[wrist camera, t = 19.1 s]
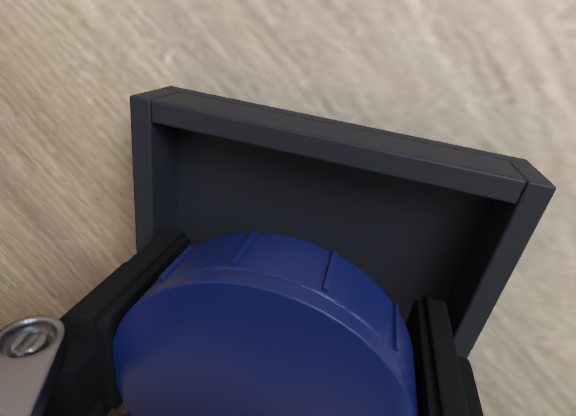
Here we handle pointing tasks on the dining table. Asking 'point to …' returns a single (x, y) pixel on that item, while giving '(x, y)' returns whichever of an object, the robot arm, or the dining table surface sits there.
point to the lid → (264, 336)
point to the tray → (339, 196)
